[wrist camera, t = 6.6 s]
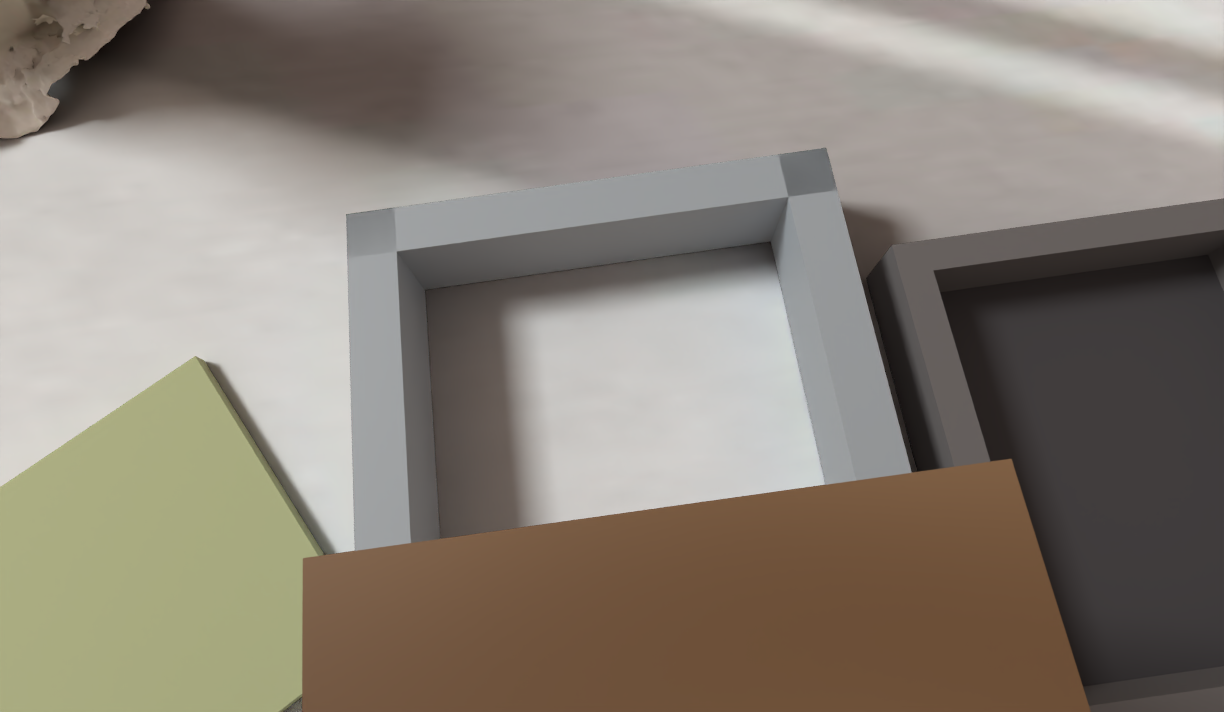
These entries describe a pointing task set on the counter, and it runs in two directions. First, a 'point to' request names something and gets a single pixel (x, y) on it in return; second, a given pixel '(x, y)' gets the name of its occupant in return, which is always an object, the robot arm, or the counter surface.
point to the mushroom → (49, 51)
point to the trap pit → (1087, 422)
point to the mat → (153, 565)
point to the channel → (591, 236)
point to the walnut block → (708, 609)
